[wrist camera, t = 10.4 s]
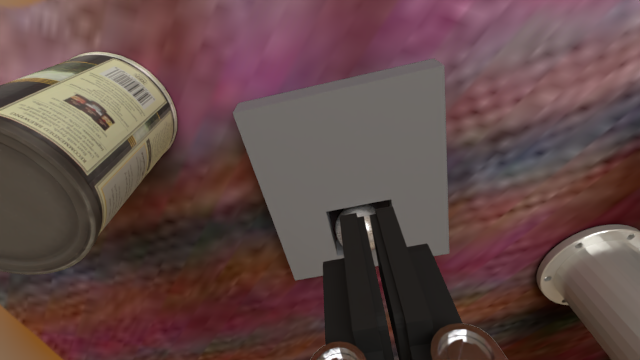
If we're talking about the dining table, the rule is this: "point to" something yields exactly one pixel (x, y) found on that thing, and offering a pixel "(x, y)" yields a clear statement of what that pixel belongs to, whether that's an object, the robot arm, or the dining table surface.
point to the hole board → (351, 158)
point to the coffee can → (75, 155)
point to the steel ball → (360, 211)
